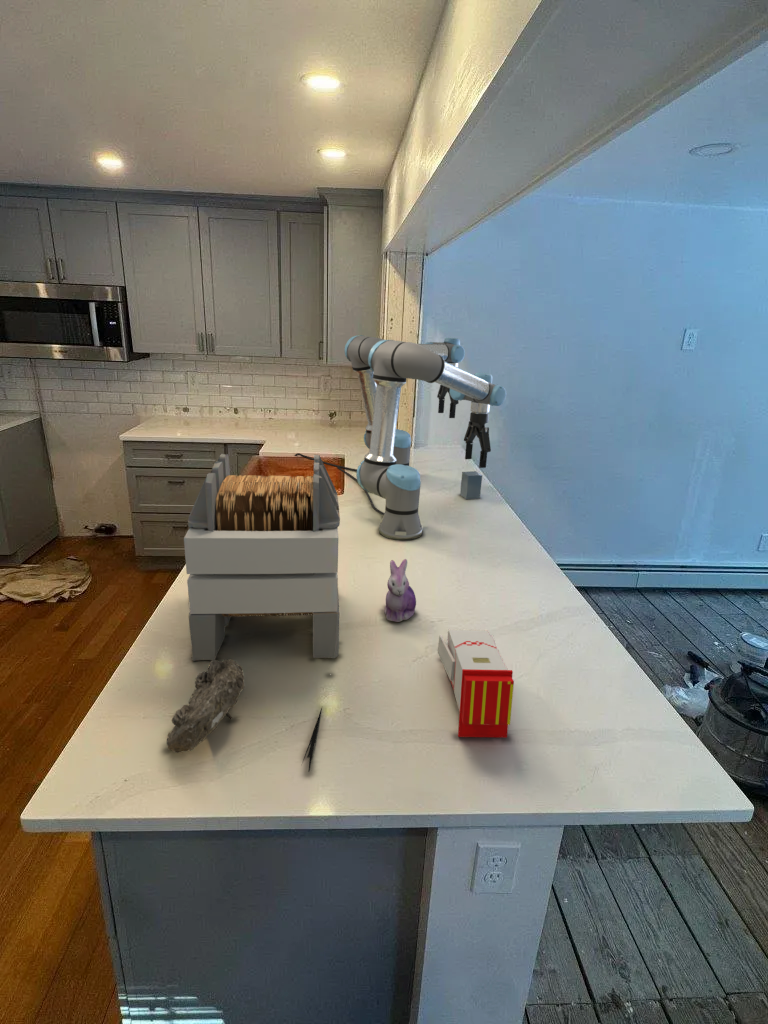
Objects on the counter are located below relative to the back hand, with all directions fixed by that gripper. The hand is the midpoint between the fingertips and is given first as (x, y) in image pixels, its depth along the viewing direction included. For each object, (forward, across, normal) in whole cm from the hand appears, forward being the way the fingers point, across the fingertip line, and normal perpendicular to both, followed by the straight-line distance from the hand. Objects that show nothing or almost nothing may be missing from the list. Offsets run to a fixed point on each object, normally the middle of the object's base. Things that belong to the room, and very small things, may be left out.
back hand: (446, 415), depth 280 cm
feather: (+26, -169, +98) cm, 197 cm away
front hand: (+11, -50, +8) cm, 52 cm away
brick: (+26, -48, +8) cm, 55 cm away
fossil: (+26, -163, +118) cm, 203 cm away
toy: (+26, -169, +67) cm, 183 cm away
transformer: (+26, -131, +103) cm, 169 cm away
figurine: (+26, -135, +70) cm, 154 cm away
